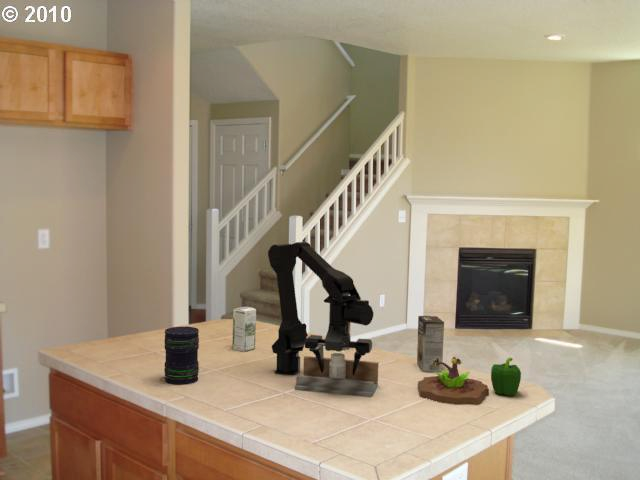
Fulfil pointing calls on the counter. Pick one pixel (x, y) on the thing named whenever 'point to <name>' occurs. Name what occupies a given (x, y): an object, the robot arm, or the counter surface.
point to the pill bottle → (337, 366)
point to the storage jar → (181, 355)
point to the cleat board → (354, 385)
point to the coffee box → (430, 343)
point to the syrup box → (244, 329)
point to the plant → (452, 386)
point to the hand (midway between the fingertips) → (337, 373)
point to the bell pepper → (505, 378)
